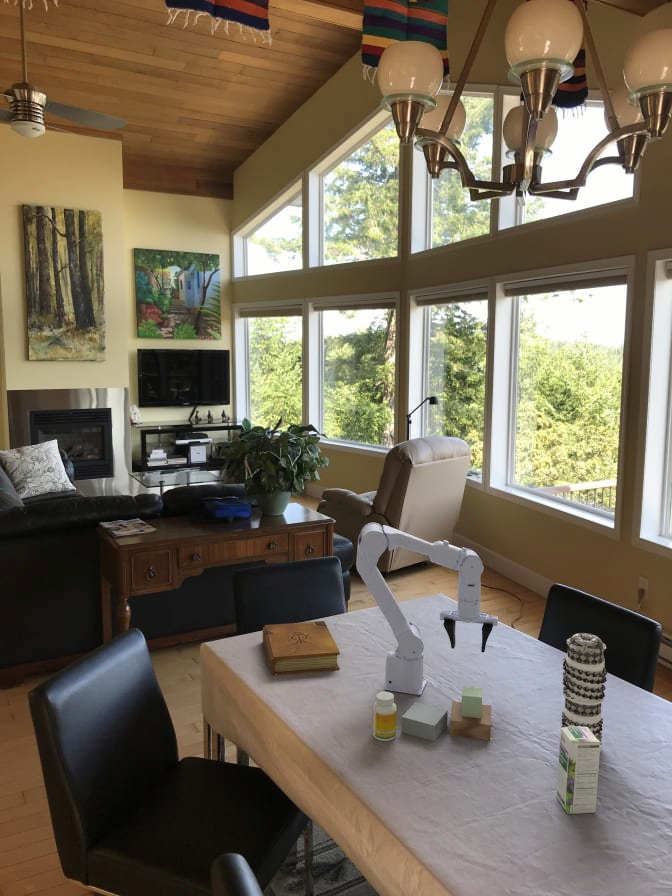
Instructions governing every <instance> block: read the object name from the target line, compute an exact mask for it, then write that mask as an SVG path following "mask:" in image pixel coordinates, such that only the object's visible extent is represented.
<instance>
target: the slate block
mask: <svg viewBox="0 0 672 896" xmlns="http://www.w3.org/2000/svg"><path fill="white" fill-rule="evenodd" d="M448 711H449V710H447V709H444V708H441V707H437V706H432V705H429V704H424V703H421V702H418V701H415V702H414V703H413V704H412V705H411V706H410V708H409V709H407V711H406V712H405V713H404V714H402V716H401V733H404V734H407V735H411V736H414V737H417V738H419V739H420V738H421V739H425V740H427V741H431V742H436V741H437V739H438V738H439V736H440V735H441V734H442V733H443V731H444V730H445V729H446V728H447V726H448Z"/></svg>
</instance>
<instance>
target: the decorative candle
mask: <svg viewBox="0 0 672 896" xmlns="http://www.w3.org/2000/svg"><path fill="white" fill-rule="evenodd" d="M566 644H567V653H566V657H565V658H563V662H562V670H563V672H562V675H563V676H562V677H563V678H562V685H563V688H562V690H563V691H562V693H563V696H564V704H563V711H562V712H561V727H560V729H561V728H563V727H571V726H581V727H588V728H589V729H590V730H591V731H592V733H593V734H594V735H595V736H596V738H597V739H598V740H599V741H600V753H601V751H602V747H601V746H602V744H603V743H602V739H603V736H602V735H603V733H602V731H603V723H604V718H603V717H602V713H603V711H602V703H603V702H604V701H605V700H604V699H605V697H606V695H605V692H604V691H605V690H606V686H605V683H606V682H607V681H608V679H607V677H606V676H607V675H608V671H607V669H606V668H605V660H606V659H605V650H606V649H607V645H606V644H605V643H604V642H603V641H602V639H601V638H600V637H599V636H597V635H596V634H595V635H594V634H592V633H585V632H579V633H575V634H573V635H572V636H571V637H569V638H567V639H566Z"/></svg>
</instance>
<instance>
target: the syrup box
mask: <svg viewBox="0 0 672 896" xmlns="http://www.w3.org/2000/svg"><path fill="white" fill-rule="evenodd" d="M559 735H560V736H559V737H560V738H559V751H558V762H557V763H558V765H557V766H558V767H557V782H556V799H558V801H559V802H560V804H561V806H562V808H563V810H564V811H565V812H566V813H567V815H576V814H592V813H593V814H594V813H596V811H597V799H598V784H599V769H600V768H599V767H600V754H601V752H600V746H601V745H600V741H599V740H598V739H597V738H596V736H595V735H594V734H593V733H592V731H591V730H590V729H589V728H588V727H581V726H571V727H563V728H561V727H560V734H559Z"/></svg>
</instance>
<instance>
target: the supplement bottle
mask: <svg viewBox="0 0 672 896" xmlns="http://www.w3.org/2000/svg"><path fill="white" fill-rule="evenodd" d="M397 709H398V708H397V705H396V703H395V695H394V694H393V693H392V692H389V691H379V692H378V693H376V695H375V702H374V704H373V705H372V731H371V732H372V736H373V738H374V739H375V740H377V741H381V742H390V741H392V740H394V739H395V738H396V736H397V718H398V717H397V713H398V712H397Z"/></svg>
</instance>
